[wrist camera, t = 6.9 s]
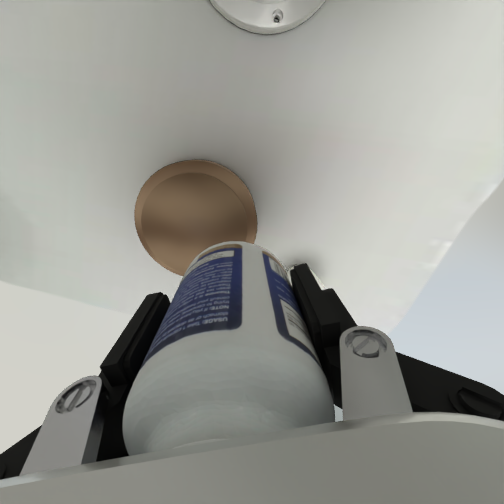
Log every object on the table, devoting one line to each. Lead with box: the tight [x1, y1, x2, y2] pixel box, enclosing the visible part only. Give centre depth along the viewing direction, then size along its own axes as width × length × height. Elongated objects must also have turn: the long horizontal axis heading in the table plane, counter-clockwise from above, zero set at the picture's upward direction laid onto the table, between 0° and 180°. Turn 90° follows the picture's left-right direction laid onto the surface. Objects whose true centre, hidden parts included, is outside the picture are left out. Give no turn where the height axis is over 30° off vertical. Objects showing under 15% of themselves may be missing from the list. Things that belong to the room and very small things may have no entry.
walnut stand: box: [135, 160, 257, 276], centre depth 25 cm, size 12×12×4 cm
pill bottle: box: [122, 241, 335, 456], centre depth 8 cm, size 5×5×10 cm
